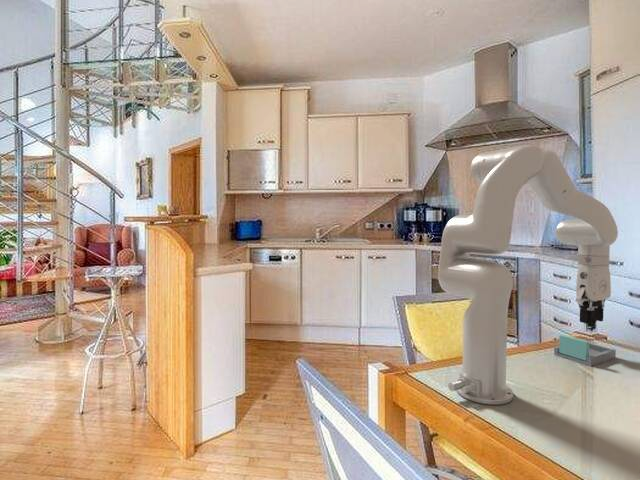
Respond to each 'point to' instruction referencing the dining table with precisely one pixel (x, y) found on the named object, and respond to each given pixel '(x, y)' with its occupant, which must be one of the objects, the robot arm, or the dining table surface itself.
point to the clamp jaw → (573, 347)
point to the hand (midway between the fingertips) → (591, 321)
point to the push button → (594, 305)
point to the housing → (591, 355)
